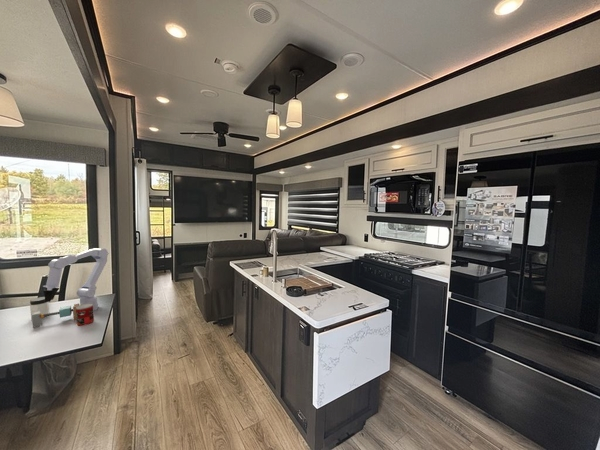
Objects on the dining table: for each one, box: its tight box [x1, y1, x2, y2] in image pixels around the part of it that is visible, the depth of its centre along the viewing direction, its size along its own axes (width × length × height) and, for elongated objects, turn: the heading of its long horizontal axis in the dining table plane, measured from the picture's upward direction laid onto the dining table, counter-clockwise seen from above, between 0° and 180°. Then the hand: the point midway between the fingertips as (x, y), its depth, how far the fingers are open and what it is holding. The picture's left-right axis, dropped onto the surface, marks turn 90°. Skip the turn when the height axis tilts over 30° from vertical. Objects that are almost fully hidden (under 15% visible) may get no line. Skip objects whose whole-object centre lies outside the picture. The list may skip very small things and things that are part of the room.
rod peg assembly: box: [31, 302, 80, 329], centre depth 155 cm, size 21×8×8 cm, turn 127°
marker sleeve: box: [58, 305, 73, 319], centre depth 157 cm, size 5×5×5 cm
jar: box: [29, 296, 51, 320], centre depth 162 cm, size 9×8×12 cm
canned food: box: [76, 304, 95, 327], centre depth 153 cm, size 8×8×11 cm
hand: (49, 300), depth 152 cm, fingers open, 7 cm apart
